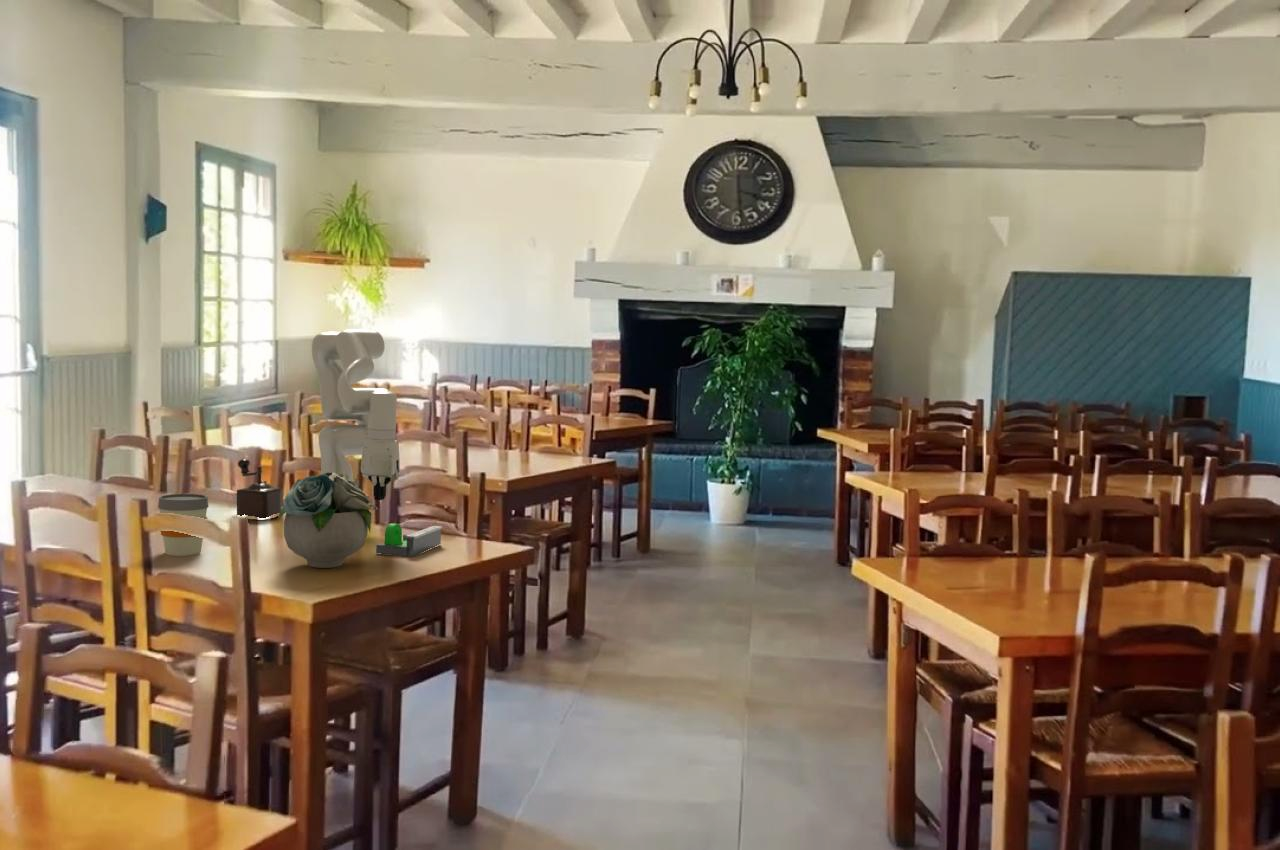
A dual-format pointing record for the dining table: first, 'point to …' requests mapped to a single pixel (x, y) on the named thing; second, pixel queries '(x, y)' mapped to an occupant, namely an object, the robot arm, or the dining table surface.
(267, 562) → the dining table surface
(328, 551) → the flower arrangement
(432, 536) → the steel bracket
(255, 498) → the manual coffee grinder
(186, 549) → the reusable coffee cup
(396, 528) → the mechanical part
